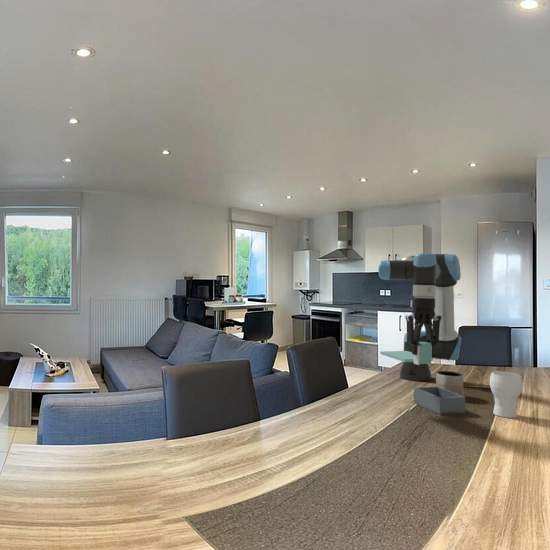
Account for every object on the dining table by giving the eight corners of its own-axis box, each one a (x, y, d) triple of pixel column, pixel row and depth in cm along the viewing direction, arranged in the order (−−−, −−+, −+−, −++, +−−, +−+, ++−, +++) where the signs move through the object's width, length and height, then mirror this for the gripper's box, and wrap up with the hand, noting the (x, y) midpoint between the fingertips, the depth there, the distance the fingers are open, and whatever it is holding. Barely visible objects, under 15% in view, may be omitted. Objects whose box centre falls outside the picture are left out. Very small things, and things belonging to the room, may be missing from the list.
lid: (380, 354, 171) (380, 336, 172) (406, 353, 175) (406, 335, 175) (411, 364, 152) (412, 343, 152) (440, 363, 155) (440, 343, 155)
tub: (413, 402, 176) (414, 387, 176) (437, 401, 179) (437, 386, 179) (439, 415, 160) (440, 398, 160) (465, 413, 164) (465, 396, 164)
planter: (458, 393, 193) (458, 371, 193) (466, 400, 182) (467, 376, 182) (432, 392, 194) (433, 370, 194) (439, 398, 183) (440, 375, 183)
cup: (525, 420, 156) (526, 378, 156) (493, 417, 159) (494, 376, 159) (515, 411, 167) (516, 372, 167) (485, 409, 169) (486, 370, 169)
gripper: (409, 297, 150) (407, 366, 149) (451, 298, 154) (449, 365, 154) (396, 296, 157) (395, 362, 157) (437, 297, 162) (436, 361, 161)
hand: (422, 363), depth 155 cm, fingers closed on lid, 4 cm apart
